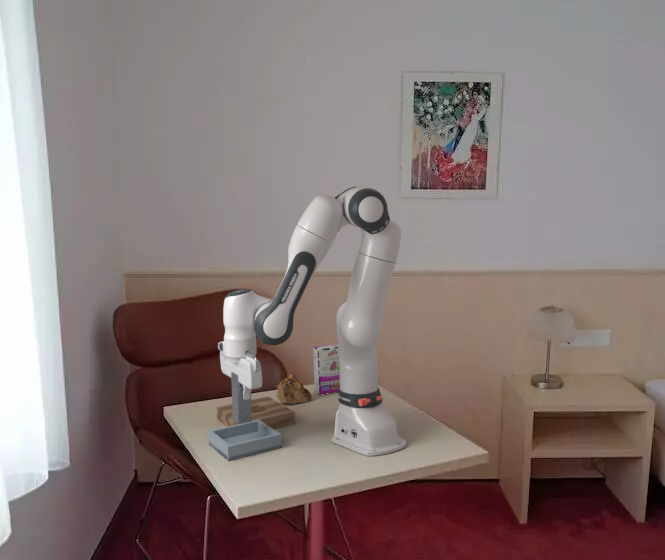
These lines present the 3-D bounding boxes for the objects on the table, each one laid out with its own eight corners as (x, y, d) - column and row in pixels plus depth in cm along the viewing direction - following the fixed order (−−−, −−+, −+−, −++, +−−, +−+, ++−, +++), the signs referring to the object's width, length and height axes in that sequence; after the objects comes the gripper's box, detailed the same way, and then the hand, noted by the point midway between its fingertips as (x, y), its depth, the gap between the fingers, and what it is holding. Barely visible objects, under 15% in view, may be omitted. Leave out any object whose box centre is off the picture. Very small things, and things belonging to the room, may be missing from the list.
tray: (281, 447, 195) (281, 434, 194) (228, 461, 187) (227, 446, 186) (259, 432, 207) (259, 419, 206) (208, 444, 198) (208, 431, 198)
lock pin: (251, 421, 195) (250, 373, 193) (238, 424, 193) (237, 375, 191) (245, 417, 198) (244, 369, 196) (232, 420, 196) (231, 371, 194)
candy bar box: (342, 387, 249) (342, 342, 246) (348, 391, 244) (347, 345, 242) (313, 391, 244) (312, 346, 242) (319, 395, 240) (318, 349, 237)
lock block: (295, 424, 213) (294, 411, 212) (240, 436, 204) (240, 423, 203) (268, 408, 228) (268, 396, 228) (217, 419, 219) (216, 407, 218)
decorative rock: (281, 408, 227) (280, 376, 226) (273, 403, 233) (272, 372, 231) (313, 402, 233) (313, 371, 232) (305, 397, 238) (304, 366, 237)
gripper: (267, 354, 185) (268, 404, 187) (235, 339, 202) (237, 385, 205) (245, 357, 182) (247, 408, 184) (215, 342, 199) (217, 388, 201)
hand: (241, 396), depth 194 cm, fingers closed on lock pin, 4 cm apart
